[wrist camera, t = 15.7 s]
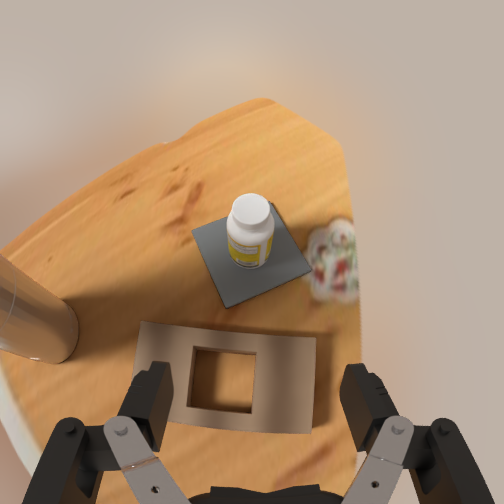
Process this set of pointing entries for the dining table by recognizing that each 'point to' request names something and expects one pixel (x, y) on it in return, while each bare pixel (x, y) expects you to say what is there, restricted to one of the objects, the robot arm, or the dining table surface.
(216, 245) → the slate pad
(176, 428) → the dining table surface
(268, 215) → the supplement bottle
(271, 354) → the bottle holder tray
